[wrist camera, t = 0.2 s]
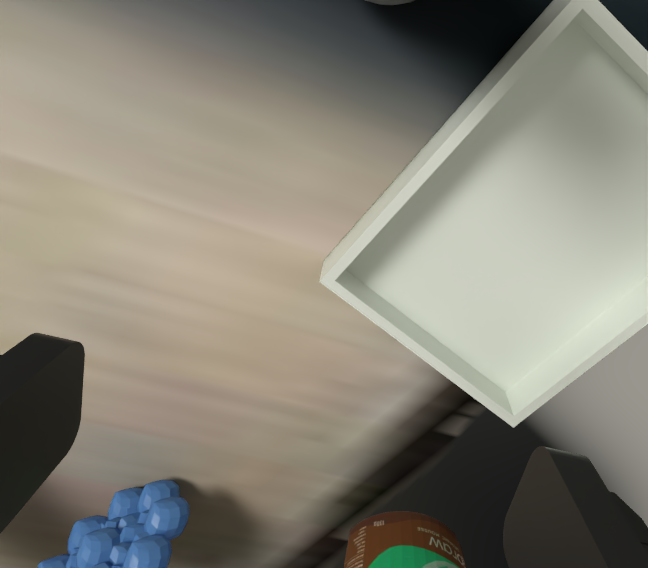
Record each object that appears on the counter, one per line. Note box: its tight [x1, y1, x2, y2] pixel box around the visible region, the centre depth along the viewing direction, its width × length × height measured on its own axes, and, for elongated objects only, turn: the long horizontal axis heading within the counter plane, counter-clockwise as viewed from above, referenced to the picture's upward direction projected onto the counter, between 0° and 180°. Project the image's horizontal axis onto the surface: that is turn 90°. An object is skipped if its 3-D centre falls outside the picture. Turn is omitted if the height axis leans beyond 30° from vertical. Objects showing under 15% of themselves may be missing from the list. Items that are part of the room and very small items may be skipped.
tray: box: [319, 0, 648, 427], centre depth 29 cm, size 18×15×3 cm
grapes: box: [37, 480, 190, 568], centre depth 37 cm, size 12×7×12 cm, turn 117°
